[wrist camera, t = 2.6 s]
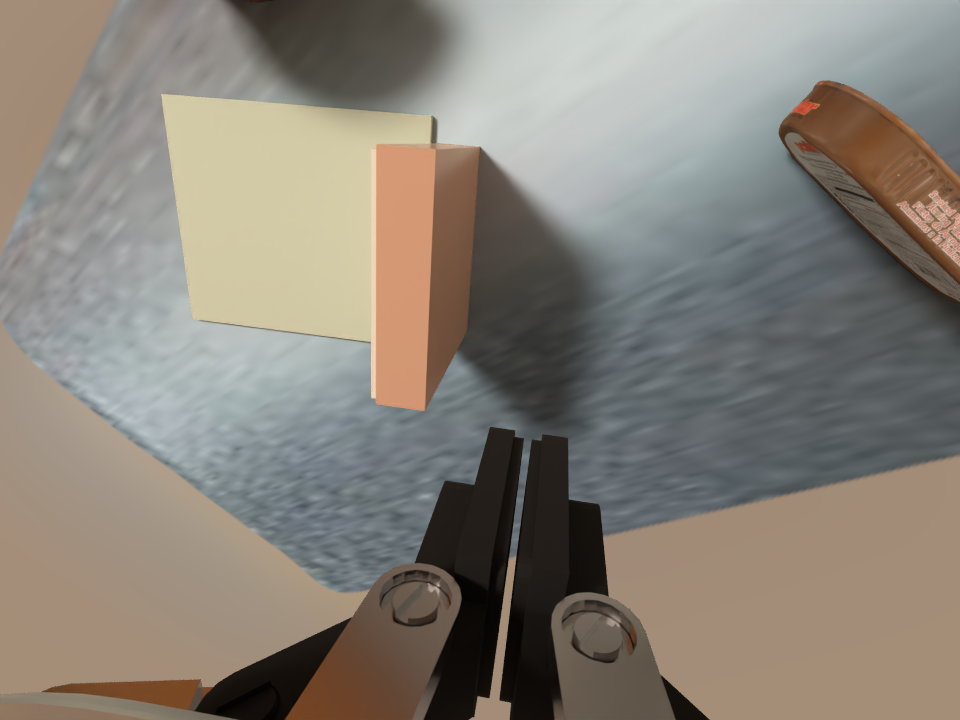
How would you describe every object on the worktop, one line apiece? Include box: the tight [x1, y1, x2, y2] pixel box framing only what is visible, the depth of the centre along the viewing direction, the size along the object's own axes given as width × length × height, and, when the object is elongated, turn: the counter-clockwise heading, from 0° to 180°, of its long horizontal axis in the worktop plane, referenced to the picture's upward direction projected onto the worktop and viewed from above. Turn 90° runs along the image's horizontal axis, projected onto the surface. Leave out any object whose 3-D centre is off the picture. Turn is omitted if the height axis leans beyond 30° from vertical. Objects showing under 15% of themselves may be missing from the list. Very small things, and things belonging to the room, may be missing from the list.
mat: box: [161, 94, 433, 342], centre depth 36 cm, size 18×15×1 cm
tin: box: [779, 81, 960, 304], centre depth 27 cm, size 15×3×8 cm, turn 51°
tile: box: [371, 143, 480, 411], centre depth 30 cm, size 3×12×12 cm, turn 176°
